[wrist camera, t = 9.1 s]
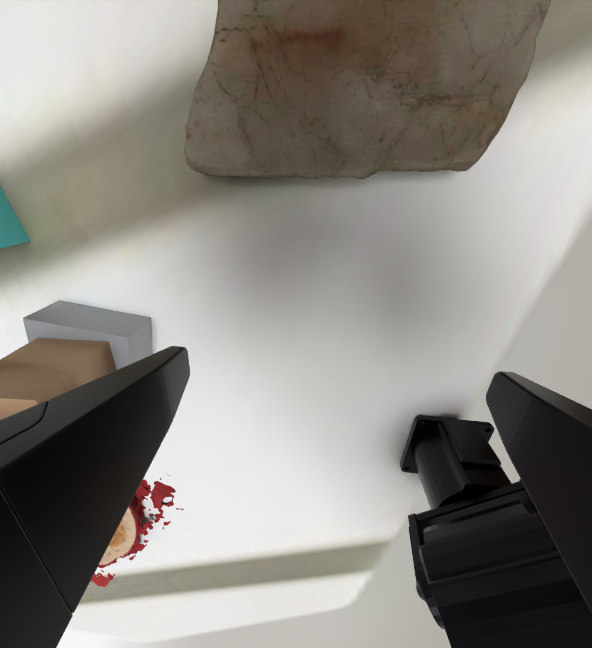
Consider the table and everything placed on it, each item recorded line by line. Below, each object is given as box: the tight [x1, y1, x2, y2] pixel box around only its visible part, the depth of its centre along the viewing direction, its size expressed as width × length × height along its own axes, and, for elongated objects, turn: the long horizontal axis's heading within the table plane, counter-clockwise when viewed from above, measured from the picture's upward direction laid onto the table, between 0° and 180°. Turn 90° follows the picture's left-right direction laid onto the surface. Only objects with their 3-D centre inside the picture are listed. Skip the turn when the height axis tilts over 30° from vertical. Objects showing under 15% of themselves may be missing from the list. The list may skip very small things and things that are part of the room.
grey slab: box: [23, 301, 152, 370], centre depth 23 cm, size 7×7×4 cm
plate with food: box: [91, 479, 183, 587], centre depth 33 cm, size 25×26×4 cm
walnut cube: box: [0, 338, 116, 420], centre depth 19 cm, size 5×5×6 cm
